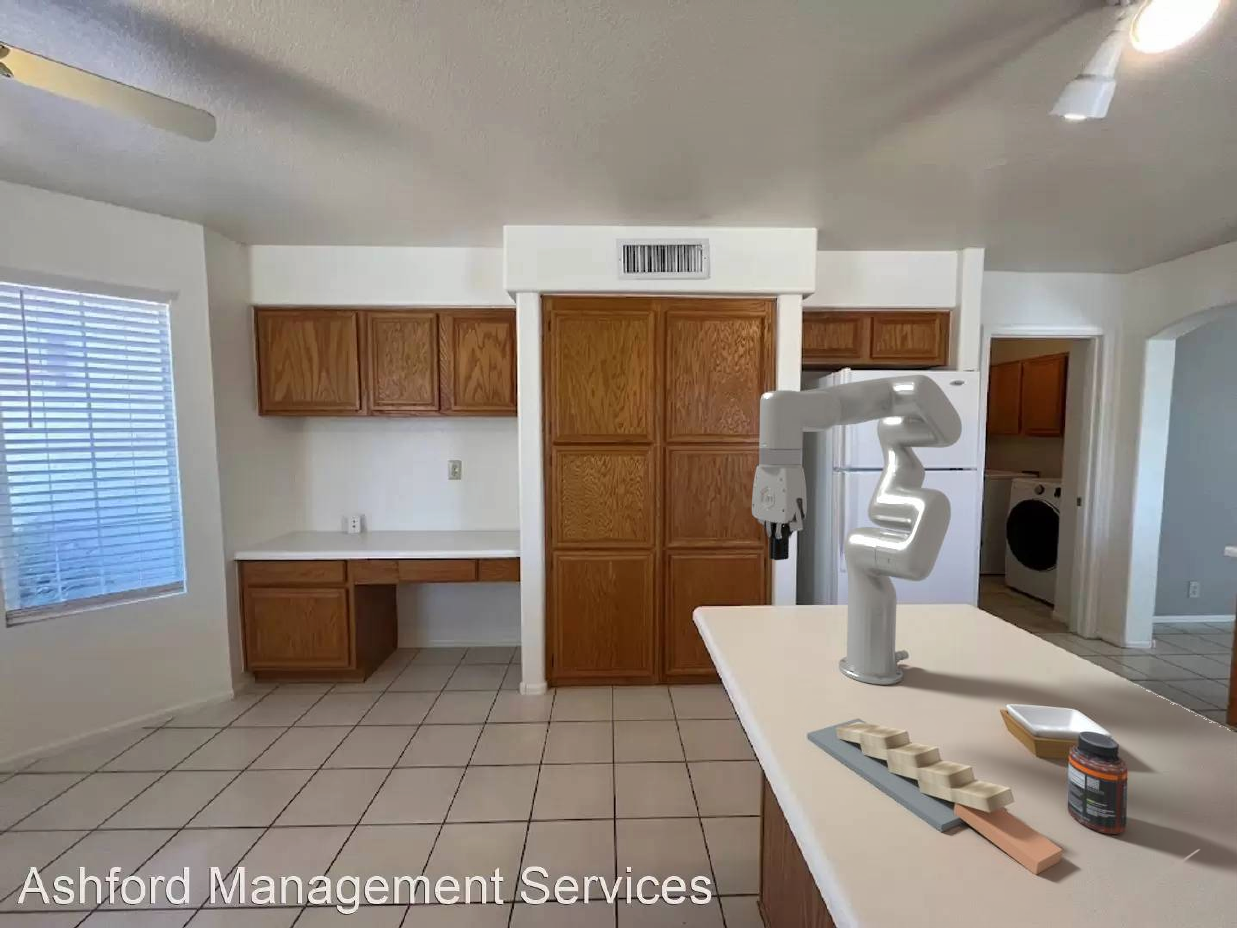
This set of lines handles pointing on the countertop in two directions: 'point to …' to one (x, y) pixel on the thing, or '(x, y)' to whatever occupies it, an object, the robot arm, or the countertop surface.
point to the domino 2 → (905, 754)
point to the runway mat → (887, 778)
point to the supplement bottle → (1097, 784)
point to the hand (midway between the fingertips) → (778, 558)
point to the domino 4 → (972, 794)
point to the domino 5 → (1012, 837)
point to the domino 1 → (873, 735)
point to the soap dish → (1048, 728)
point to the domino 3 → (936, 773)
